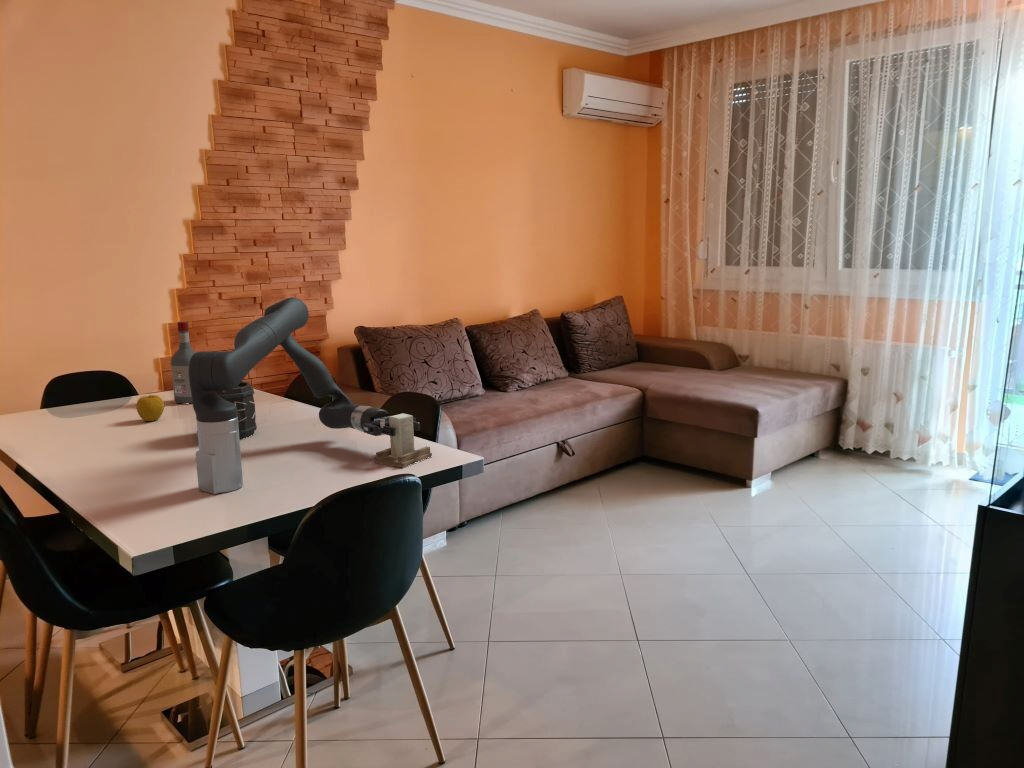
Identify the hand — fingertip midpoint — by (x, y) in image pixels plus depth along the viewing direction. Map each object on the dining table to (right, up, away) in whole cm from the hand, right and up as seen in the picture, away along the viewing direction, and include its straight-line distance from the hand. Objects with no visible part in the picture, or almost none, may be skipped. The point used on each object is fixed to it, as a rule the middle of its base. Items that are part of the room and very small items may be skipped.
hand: (407, 429), depth 200 cm
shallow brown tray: (-1, -8, +3) cm, 9 cm away
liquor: (-93, +5, +81) cm, 123 cm away
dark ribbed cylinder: (-60, -4, +30) cm, 67 cm away
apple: (-93, 0, +50) cm, 106 cm away
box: (-2, -7, +3) cm, 8 cm away
